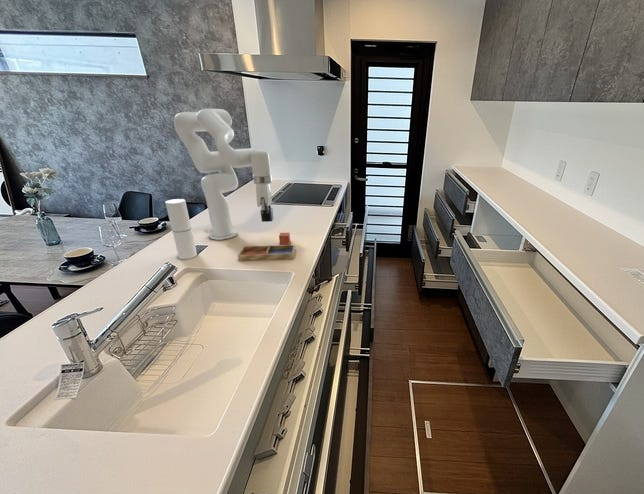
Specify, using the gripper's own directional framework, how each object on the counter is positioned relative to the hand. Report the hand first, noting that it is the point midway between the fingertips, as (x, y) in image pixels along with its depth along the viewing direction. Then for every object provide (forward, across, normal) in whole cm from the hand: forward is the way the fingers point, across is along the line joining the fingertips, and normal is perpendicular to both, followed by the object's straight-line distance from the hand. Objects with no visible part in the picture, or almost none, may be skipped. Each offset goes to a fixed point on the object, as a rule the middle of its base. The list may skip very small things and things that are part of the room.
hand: (267, 219), depth 138 cm
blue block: (0, 0, 0) cm, 0 cm away
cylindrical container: (+15, +5, -35) cm, 39 cm away
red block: (+15, -6, +6) cm, 17 cm away
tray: (+15, +7, 0) cm, 16 cm away
